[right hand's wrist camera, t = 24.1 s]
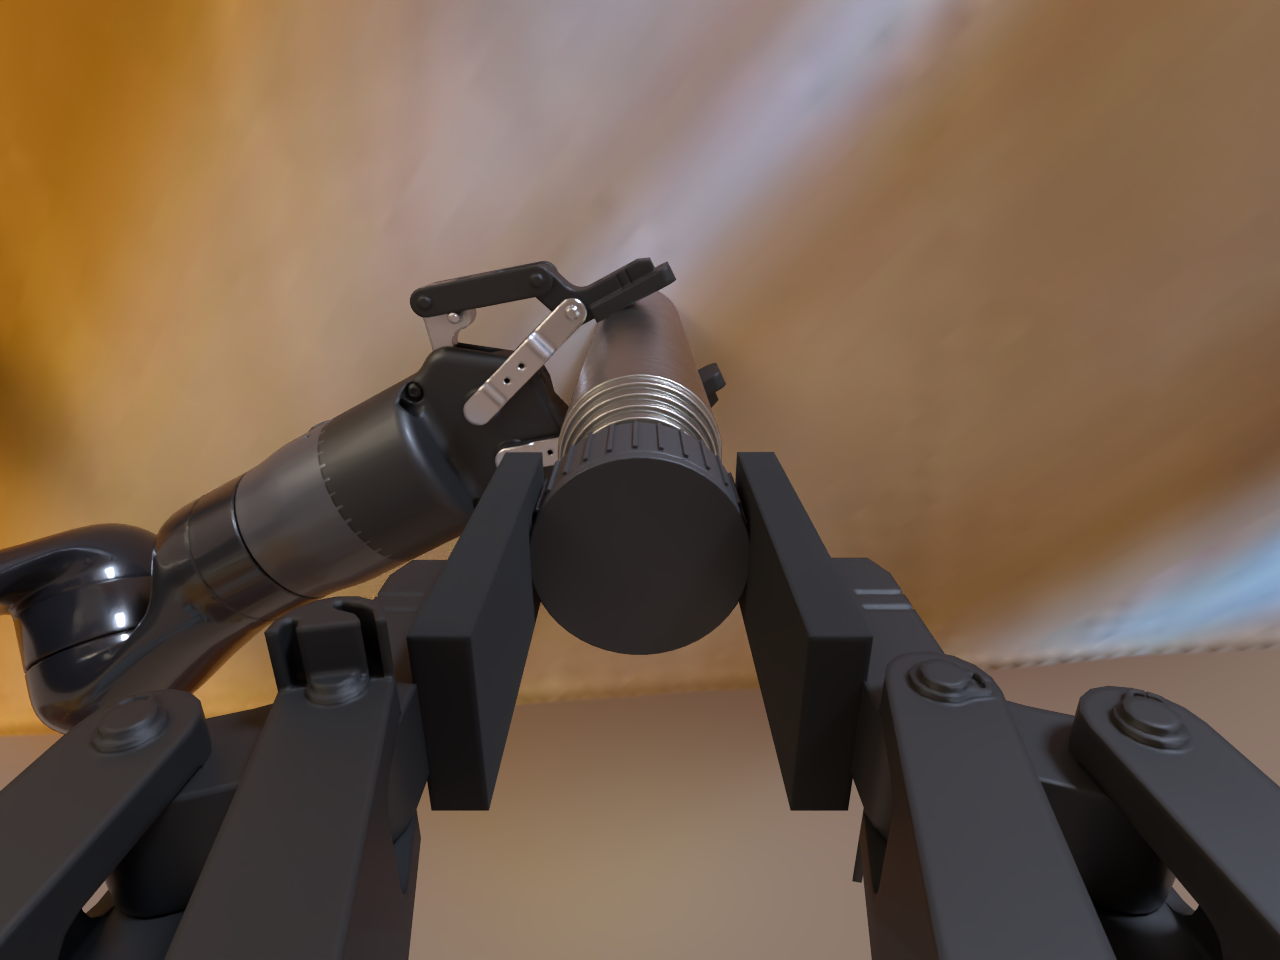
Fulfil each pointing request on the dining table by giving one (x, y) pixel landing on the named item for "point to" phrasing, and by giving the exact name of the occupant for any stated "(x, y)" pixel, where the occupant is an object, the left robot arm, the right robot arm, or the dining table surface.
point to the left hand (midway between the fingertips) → (694, 323)
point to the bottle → (640, 378)
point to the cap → (639, 540)
